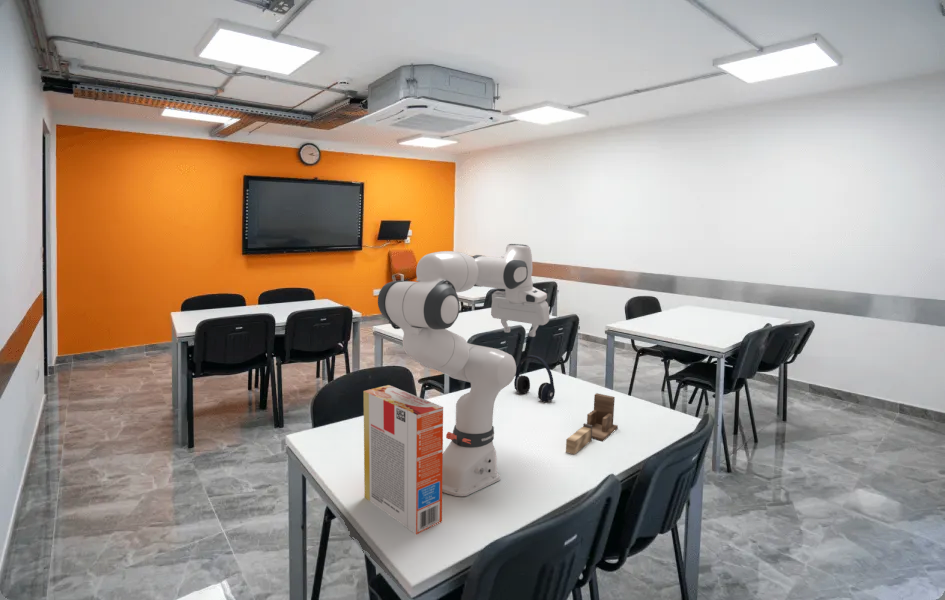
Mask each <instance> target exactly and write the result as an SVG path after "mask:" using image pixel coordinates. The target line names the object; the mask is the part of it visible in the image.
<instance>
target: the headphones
mask: <svg viewBox="0 0 945 600" xmlns="http://www.w3.org/2000/svg"><path fill="white" fill-rule="evenodd" d="M528 359H535V360H537V361H538V362H540V363H541V364H542V366H543V367H545V370H546V371H547V374H548V378H549V382H542V383H541V384H540V386H539V387H538V390H537V398H538V399H539V400H540V401H541V402H548V401H550V402H551V401H552V400H553V399H554V398H555V393H556V389H555V385H554V384H555V383H554V377H553V374H552V371H551V369H550V367H549V365H548V363H547V362H546V361H545V360H544V359H543V358H542V357H540V356H537V355H531V354H530V355H527V356H525V357H523V358H522V359H521V360H520V362H519V363H518V365H517V366H516V374H515V377H514V381H513V385H514V389H515V390H516V392H517V394H521V395H522V394H527V393H529V391H530V390H531V383H530V382H531V381H530V378H529V377H528V376H527V375H520V371H521V367H522V365H523V363H525V361H527V360H528Z"/></svg>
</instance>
